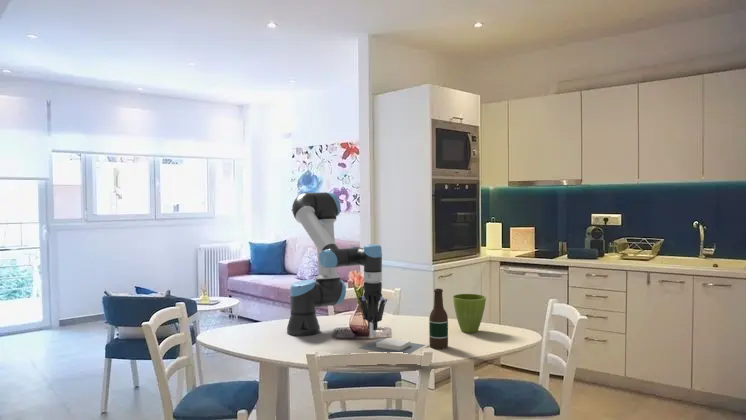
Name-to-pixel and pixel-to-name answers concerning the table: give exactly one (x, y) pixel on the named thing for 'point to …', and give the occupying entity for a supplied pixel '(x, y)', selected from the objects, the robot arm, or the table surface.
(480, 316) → the flower pot
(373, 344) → the mat
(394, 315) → the table surface
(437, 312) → the beer bottle
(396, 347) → the tile
